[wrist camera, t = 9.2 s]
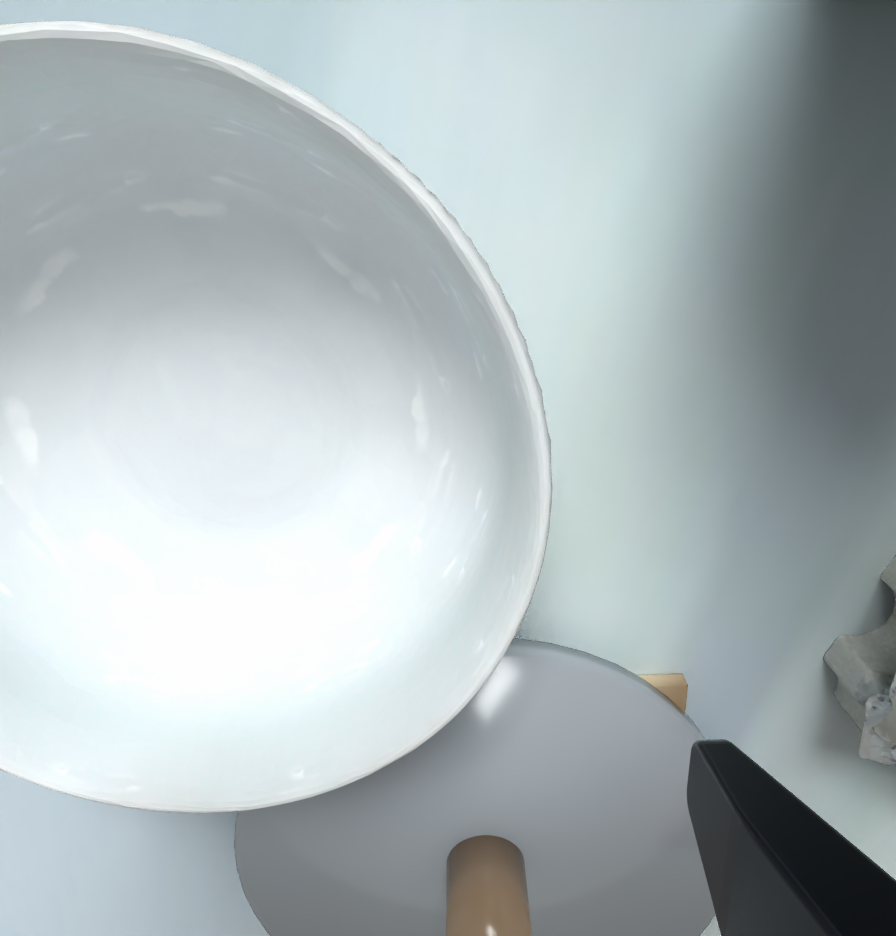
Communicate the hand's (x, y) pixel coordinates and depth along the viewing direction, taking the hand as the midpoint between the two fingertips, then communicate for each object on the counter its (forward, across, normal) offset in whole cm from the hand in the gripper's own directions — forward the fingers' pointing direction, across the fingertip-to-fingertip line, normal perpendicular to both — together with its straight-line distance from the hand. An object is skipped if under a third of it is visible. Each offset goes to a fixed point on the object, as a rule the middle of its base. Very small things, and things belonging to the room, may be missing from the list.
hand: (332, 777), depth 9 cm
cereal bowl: (+13, +5, -1) cm, 14 cm away
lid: (+12, -2, +16) cm, 20 cm away
